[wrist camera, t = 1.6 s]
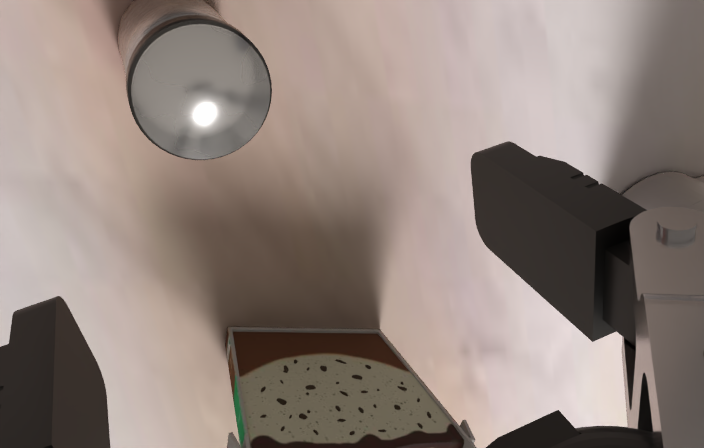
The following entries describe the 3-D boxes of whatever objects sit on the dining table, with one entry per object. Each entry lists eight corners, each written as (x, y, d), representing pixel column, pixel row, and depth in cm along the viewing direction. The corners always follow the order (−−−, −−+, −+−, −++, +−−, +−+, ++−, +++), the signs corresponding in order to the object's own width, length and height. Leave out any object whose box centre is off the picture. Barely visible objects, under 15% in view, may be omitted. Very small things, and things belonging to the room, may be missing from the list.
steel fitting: (210, -27, 27) (254, 5, 20) (238, 79, 29) (286, 139, 23) (97, 0, 26) (105, 44, 19) (137, 108, 28) (156, 179, 22)
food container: (180, 416, 37) (211, 574, 28) (199, 326, 34) (238, 468, 26) (373, 408, 42) (446, 539, 34) (401, 329, 40) (486, 449, 31)
